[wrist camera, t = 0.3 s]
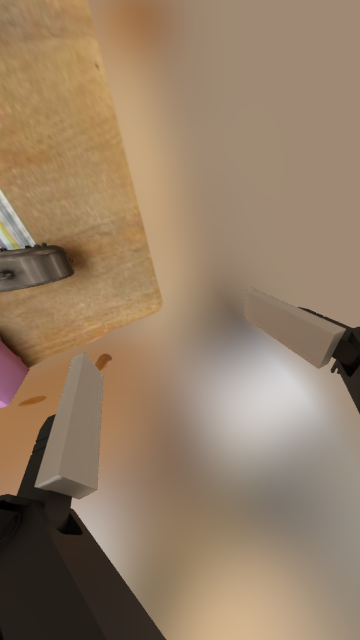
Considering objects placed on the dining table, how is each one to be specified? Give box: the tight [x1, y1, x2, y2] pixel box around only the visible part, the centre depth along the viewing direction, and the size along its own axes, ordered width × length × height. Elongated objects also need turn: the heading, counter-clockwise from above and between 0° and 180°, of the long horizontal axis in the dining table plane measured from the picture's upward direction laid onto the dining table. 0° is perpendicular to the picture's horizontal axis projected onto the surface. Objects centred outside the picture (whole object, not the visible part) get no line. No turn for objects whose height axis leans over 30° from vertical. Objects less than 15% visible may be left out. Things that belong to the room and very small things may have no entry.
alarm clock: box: [0, 243, 74, 292], centre depth 22 cm, size 11×5×16 cm, turn 95°
